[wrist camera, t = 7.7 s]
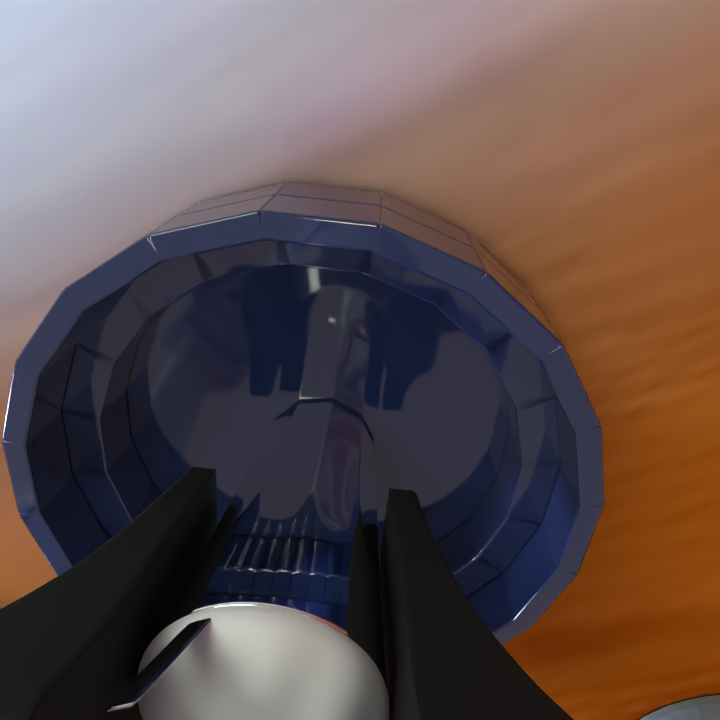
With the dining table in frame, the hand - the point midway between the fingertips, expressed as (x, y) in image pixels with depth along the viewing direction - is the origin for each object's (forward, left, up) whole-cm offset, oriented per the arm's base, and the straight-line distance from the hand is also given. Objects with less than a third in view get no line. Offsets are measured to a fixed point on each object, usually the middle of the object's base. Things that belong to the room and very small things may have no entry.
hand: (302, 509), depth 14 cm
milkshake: (0, 0, -4) cm, 4 cm away
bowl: (0, 0, -4) cm, 4 cm away
